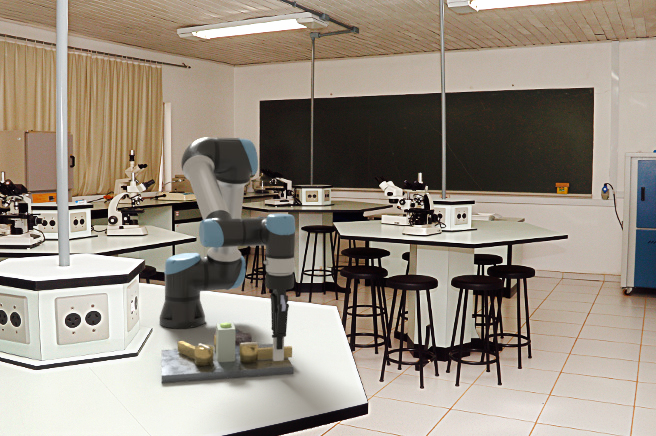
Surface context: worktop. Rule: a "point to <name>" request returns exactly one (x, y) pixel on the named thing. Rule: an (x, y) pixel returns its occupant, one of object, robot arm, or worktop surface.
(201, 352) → the knob
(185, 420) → the worktop surface
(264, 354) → the knob
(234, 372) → the grey knob board
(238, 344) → the rock
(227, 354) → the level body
